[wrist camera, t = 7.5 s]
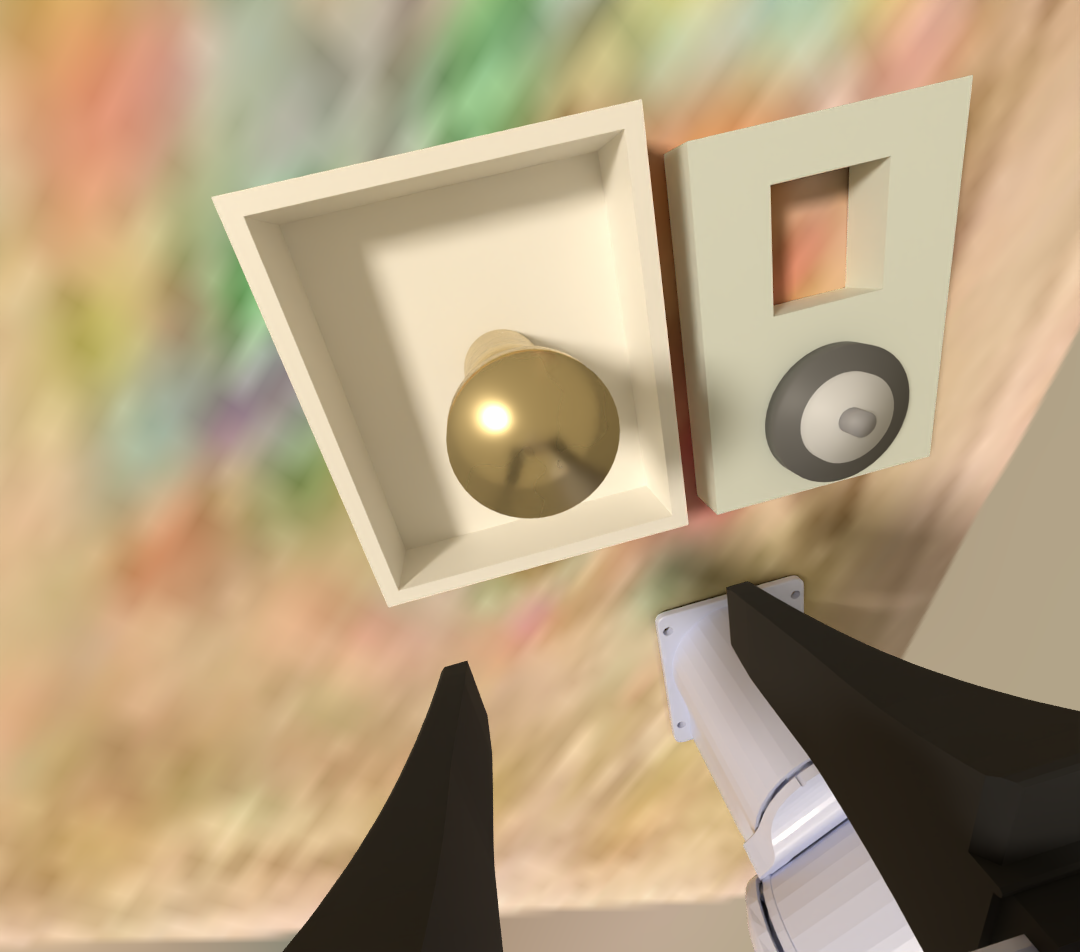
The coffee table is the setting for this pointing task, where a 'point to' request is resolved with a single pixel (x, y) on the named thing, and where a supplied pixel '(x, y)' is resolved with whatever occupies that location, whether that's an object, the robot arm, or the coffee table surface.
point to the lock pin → (529, 427)
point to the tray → (468, 330)
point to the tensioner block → (824, 319)
